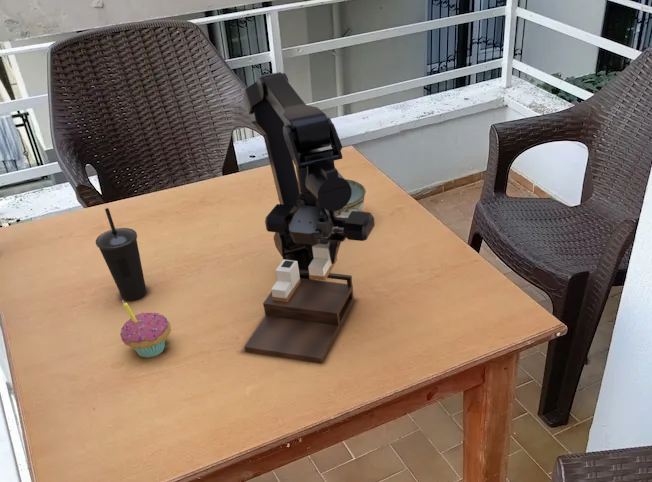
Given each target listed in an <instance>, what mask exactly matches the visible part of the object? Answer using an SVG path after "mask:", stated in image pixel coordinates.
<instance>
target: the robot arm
mask: <svg viewBox="0 0 652 482" xmlns="http://www.w3.org/2000/svg"><path fill="white" fill-rule="evenodd" d="M242 103H243V107H244V109H245V112H246V114H247V115H249V118H250V121H251V124H253V126H254V127H255V128H256V129H257V130H258V131H259V132H260V133H261V134H262V136H263V141H264V145H265V148H266V149H265V150H266V152H267V153H266V154H267V156H268V161H269V165H270V169H271V174H272V177H273V182H274V185H275V189H276V193H277V198H278V203H277V204H276V205H275V206H274V207H272V209H271V210H270V212H269V213H268V214H267V215H266V217H265V220H264V224H265V229H266V231H267V233H269V232H270V233H274V234H273V237H272V238H273V241H274V242H273V243H274V246H275V248H276V250H277V252H278V253H279V255H280V256H281V257H282V261H283V260H292V261H298V268H299V269H302V270H309V268H308V267H309V265H310V263H311V262H312V260H313V259H314V257H313V250H312V247H313V245H317V244H318V243H319V242H320V240H321V239H323V238H324V237H328V238H327V240H328V241H329V242H330V259H331V263H332V264H334V263H335V261H336V257H337V258H338V254H339V250H340V247H341V244H342V242H345V241H346V239H347V240H348V241H358V242H364V241H367V240H368V238H369V237H370V235H371V233H372V231H373V229H374V227H375V216H374V215H373V214H372V213H371V212H369V211H366V212H365V211H361V212H359V211H352V212H351V213H350V215H349V216H342V215H339V216H336V217H335V213H336V212H337V210H339V209H342V208H343V207H344V206H346V204H347V203H348V202H349V200H350V198H351V195H352V190H351V187H350V185H349V183H348V182H347V181H346V180H345V177H344V176H343V175H342V174H341V173H340V172H339V171H338V169H337V168H336V166H335V161H339V160H342V159H343V154H342V150H343V144H342V142H341V140H340V137H339V134H338V131H337V129H336V126H335V124H334V123H333V122H332V119H331V118H330V117H329V116H327V114H326V113H325V112H324V111H323V110H321V109H320V108H319V107H317V106H312V105H308V104H306V102H305V101H304V100H303V99H302V98H301V97H300V95H299V94H298V92H297V91H296V90H295V88H294V87H293V86H292V85H291V84H290V82H289V78H288V76H287V74H286V73H285V72H282V71H279V72H272V73H266V74H262V75H260V76H258V77H257V78H256V81H254V82H253V83H252V84H251V85H249V86H248V87H245V89H244V92H243V95H242ZM328 147H330V148H328ZM323 148H328V149H323ZM320 149H323V150H320ZM335 264H336V263H335ZM300 278H303V279H309V276H307V275H300Z"/></svg>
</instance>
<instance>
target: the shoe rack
mask: <svg viewBox="0 0 652 482" xmlns="http://www.w3.org/2000/svg"><path fill="white" fill-rule="evenodd" d="M299 275H307V276H309V270H302V269H299ZM352 276H353V275H351V274H341V273H335V272H334V273H333V272H330V273H329V275H328V277H327V278H326V279H331V280H332V279H333V280H340V281H346V283H344V282H343V283H342V282H334V281H327V280H325V281H323V280H314V279H303V278H300V281H301V282H300V284H299V285H298V287H297V288H296V290H295V291H294V293H293V294H292V296H291V297H290V299H289V300H288V302H281V301H274V300H273V298H272V290H270V293H269V294H268V295H267V297H266V298H265V300H264V301H263V304H262V305H263V310H264V317H263V318H262V320H261V321H260V323H259V324H258V326H257V327H256V329H255V330H254V332H253V333H252V335H250V338H249V339H248V341H246V344H245V345H244V352H246V353H251V354H252V353H253V354H258V355H265V356H272V357H278V358H285V359H292V360H297V361H298V360H300V361H304V362H305V361H306V362H312V363H320V364H322V363H323V362H324V360H325V359H326V357H327V354H328V352H329V351H330V348H331V347H332V346H333V342H334V341H335V339H336V337H337V335H338V334H339V331H340V329H341V328H342V325H343V323H344V322H345V320H346V319H347V316H348V314H349V313H350V310H351V309H352V306H354V305H353V304H354V303H355V296H354V286H353V277H352Z"/></svg>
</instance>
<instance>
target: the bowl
mask: <svg viewBox="0 0 652 482" xmlns="http://www.w3.org/2000/svg"><path fill="white" fill-rule="evenodd" d="M344 179H345V178H344ZM345 180H346V181H347V182H348V183H349V185H350V187H351V190H352V195H351V198H350V200H349V202H348V203H347V204H346V206H344V207H343V208H342V209H339V210H337V212H336V213H335V217H336V216H339V215H342V216H349V215H350V213H351V212H352V211H359V212H362V210H363V207H364V203H365V195H366V192H367V190H366V187H365V186H364V185H363V184H362V183H360V182H358V181H355V180H353V179H345Z"/></svg>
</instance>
